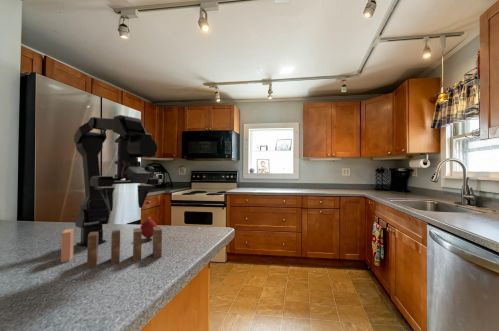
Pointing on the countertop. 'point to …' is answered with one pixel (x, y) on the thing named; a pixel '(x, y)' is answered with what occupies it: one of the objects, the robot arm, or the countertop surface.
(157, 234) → the domino
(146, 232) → the pomegranate
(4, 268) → the countertop surface
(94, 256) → the domino
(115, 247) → the domino
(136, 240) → the domino
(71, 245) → the loose domino
